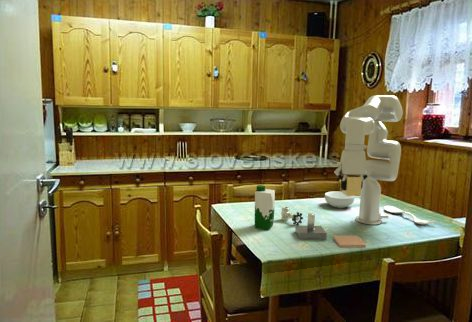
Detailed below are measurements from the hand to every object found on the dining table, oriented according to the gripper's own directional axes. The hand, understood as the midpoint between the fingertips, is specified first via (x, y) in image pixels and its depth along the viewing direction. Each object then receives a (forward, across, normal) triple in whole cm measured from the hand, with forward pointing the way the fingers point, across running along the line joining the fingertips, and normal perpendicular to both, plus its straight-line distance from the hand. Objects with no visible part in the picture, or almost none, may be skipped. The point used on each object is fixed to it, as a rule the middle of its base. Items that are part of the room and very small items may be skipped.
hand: (351, 189), depth 162 cm
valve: (+24, +21, -27) cm, 42 cm away
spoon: (+24, -43, -37) cm, 61 cm away
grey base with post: (+23, +15, -8) cm, 29 cm away
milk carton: (+24, +35, -18) cm, 46 cm away
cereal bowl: (+24, -13, -58) cm, 64 cm away
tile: (+23, 0, 0) cm, 23 cm away
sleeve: (+2, 0, 0) cm, 2 cm away
